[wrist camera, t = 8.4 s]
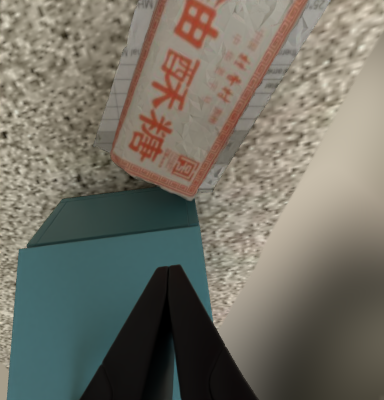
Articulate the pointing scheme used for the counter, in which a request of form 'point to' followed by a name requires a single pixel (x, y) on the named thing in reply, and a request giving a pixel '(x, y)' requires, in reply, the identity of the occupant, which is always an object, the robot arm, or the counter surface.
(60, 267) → the freezer lid
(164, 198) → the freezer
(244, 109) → the packaged product
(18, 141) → the counter surface
